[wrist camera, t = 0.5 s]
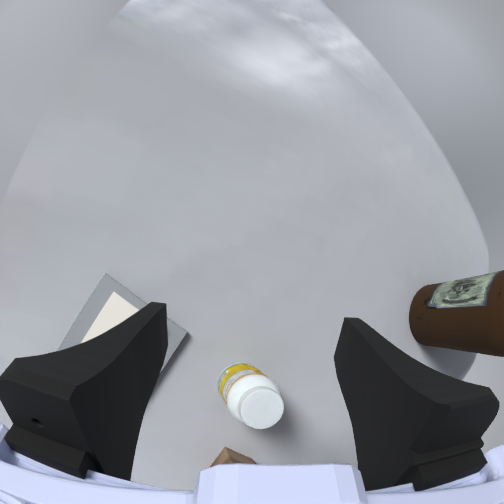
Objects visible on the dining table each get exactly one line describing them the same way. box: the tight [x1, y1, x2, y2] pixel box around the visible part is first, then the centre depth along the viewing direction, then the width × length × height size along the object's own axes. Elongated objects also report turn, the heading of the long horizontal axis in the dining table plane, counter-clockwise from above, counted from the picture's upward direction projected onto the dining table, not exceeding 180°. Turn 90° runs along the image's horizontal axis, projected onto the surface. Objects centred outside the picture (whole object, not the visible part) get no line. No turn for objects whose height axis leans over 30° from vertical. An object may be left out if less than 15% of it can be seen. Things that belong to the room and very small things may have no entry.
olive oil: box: [409, 270, 504, 357], centre depth 31 cm, size 11×11×25 cm
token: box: [210, 447, 255, 467], centre depth 30 cm, size 4×4×6 cm
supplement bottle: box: [218, 363, 284, 429], centre depth 30 cm, size 5×5×10 cm
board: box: [57, 273, 187, 373], centre depth 31 cm, size 18×11×2 cm, turn 147°
